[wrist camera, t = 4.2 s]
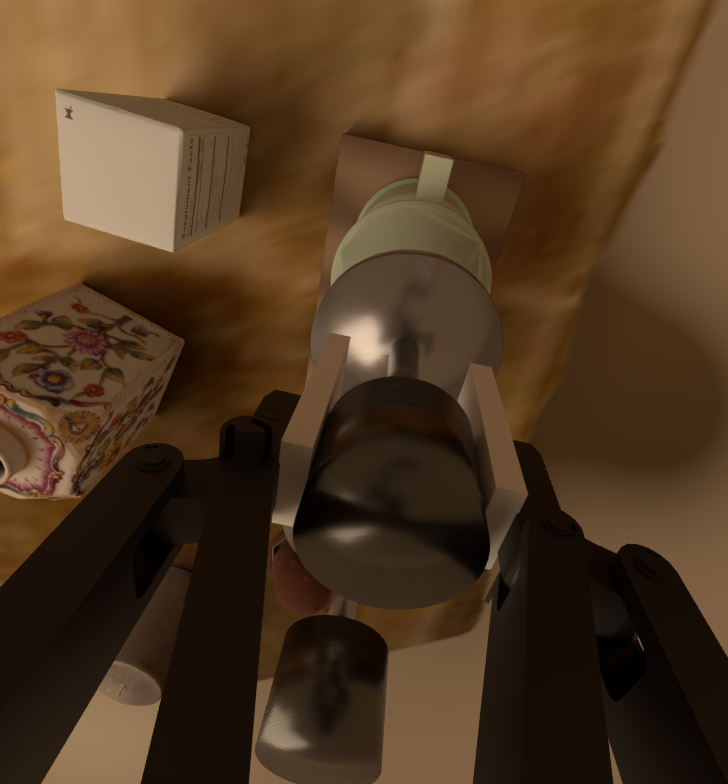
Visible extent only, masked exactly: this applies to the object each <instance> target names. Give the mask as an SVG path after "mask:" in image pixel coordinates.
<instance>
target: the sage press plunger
mask: <svg viewBox="0 0 728 784" xmlns="http://www.w3.org/2000/svg"><path fill="white" fill-rule="evenodd" d="M330 332H331V333H335V334H340V335H345V336H349V337H351V338H350V343H349V349H348V354H347V360H346V365H345V370H344V376H343V381H342V387H341V392H340V398H339V400H338V401H337V402H336V403H335V405H334V406H333V408H332V409H331V411H330V413H329V416H328V419H327V422H326V425H325V428H324V431H323V434H322V437H321V440H320V443H319V446H318V450H317V453H316V456H315V459H314V462H313V465H312V468H311V471H310V474H309V477H308V480H307V483H306V486H305V489H304V492H303V495H302V498H301V501H300V504H299V507H298V510H297V513H296V516H295V520H294V524H293V542H294V546H295V550H296V553H297V555H298V557H299V559H300V561H301V562H302V564H303V565H304V567H305V568H306V569H307V571H308V572H309V573H310V574H311V575H312V576H313V577H314V578H315V579H316V580H317V581H318V582H320V583H321V584H322V585H324V586H325V587H326V588H328V589H329V590H331V591H333V592H335V593H336V594H338V595H340V596H342V597H345V598H347V599H349V600H352V601H355V602H357V603H361V604H364V605H368V606H373V607H379V608H386V609H416V608H422V607H428V606H432V605H436V604H439V603H442V602H445V601H447V600H450V599H452V598H454V597H456V596H458V595H459V594H461V593H462V592H464V591H465V590H467V589H468V588H469V587H470V586H471V585H473V584H474V583H475V582H476V580H477V579H478V578H479V577H480V576H481V574H482V572H483V571H484V569H485V567H486V565H487V562H488V560H489V554H490V537H489V531H488V525H487V519H486V513H485V506H484V500H483V494H482V488H481V482H480V476H479V470H478V464H477V458H476V452H475V446H474V440H473V433H472V428H471V424H470V421H469V419H468V417H467V415H466V413H465V411H464V409H463V408H462V407H461V406H460V404H459V403H458V402H457V401H458V398H459V395H460V393H461V390H462V387H463V384H464V381H465V378H466V375H467V372H468V369H469V366H470V363H474V364H479V365H484V366H488V367H492V371H493V374H494V378H495V377H496V374H497V372H498V369H499V366H500V363H501V359H502V352H503V333H502V326H501V322H500V319H499V315H498V312H497V310H496V308H495V305H494V303H493V301H492V299H491V297H490V295H489V293H488V292H487V290H486V289H485V287H484V286H483V285H482V283H481V282H480V281H479V280H478V279H477V278H476V277H475V276H474V275H473V274H472V273H471V272H469V271H468V270H467V269H466V268H465V267H463V266H461V265H460V264H458V263H457V262H455V261H453V260H451V259H449V258H447V257H444V256H442V255H439V254H435V253H432V252H428V251H422V250H410V249H401V250H392V251H387V252H383V253H379V254H375V255H373V256H370V257H368V258H365V259H363V260H362V261H360V262H358V263H356V264H354V265H353V266H351V267H350V268H349V269H348V270H346V271H345V272H344V273H343V274H342V275H341V276H340V277H339V278H338V279H337V280H336V281H335V282H334V283H333V284H332V286H331V287H330V288H329V290H328V291H327V293H326V294H325V296H324V298H323V300H322V302H321V303H320V305H319V307H318V309H317V312H316V315H315V317H314V321H313V325H312V330H311V354H312V358H313V363H314V366H315V364H316V362H317V360H318V358H319V355H320V353H321V351H322V349H323V347H324V344H325V342H326V340H327V338H328V335H329V333H330Z"/></svg>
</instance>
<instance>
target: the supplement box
mask: <svg viewBox="0 0 728 784" xmlns="http://www.w3.org/2000/svg"><path fill="white" fill-rule="evenodd" d="M55 95H56V109H57V126H58V141H59V156H60V171H61V186H62V202H63V213H64V218H65V220H67V221H70V222H74V223H77V224H80V225H83V226H87V227H90V228H93V229H96V230H100V231H103V232H106V233H109V234H113V235H116V236H119V237H123V238H126V239H129V240H132V241H136V242H139V243H142V244H146V245H149V246H153V247H156V248H159V249H163V250H166V251H169V252H175V251H177V250H179V249H181V248H183V247H185V246H186V245H188V244H190V243H192V242H194V241H196V240H198V239H200V238H202V237H204V236H206V235H208V234H210V233H212V232H214V231H216V230H217V229H219V228H222V227H223V226H225V225H227V224H229V223H231V222H233V221H235V220H237V219H238V218H239V214H240V206H241V198H242V191H243V182H244V175H245V168H246V160H247V152H248V143H249V136H250V127H249V126H247V125H244V124H242V123H239V122H236V121H233V120H230V119H227V118H224V117H221V116H218V115H215V114H212V113H209V112H206V111H203V110H199V109H196V108H193V107H190V106H186V105H183V104H180V103H177V102H173V101H170V100H167V99H160V98H150V97H138V96H129V95H118V94H107V93H97V92H87V91H76V90H65V89H56V90H55Z"/></svg>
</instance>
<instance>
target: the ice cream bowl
mask: <svg viewBox="0 0 728 784" xmlns="http://www.w3.org/2000/svg"><path fill="white" fill-rule="evenodd" d="M268 569H269V570H270V571H271V572H272V576H273V580H274V582H275V594H276V597H277V599H278V601H279V603H280V604H281V606H282V607H283V609H284V610H285V611H288V612H290V613H291V614H295V615H298V616H307V615H313V614H315V613H316V612H318V611H319V610H320V611H322V612H327V611H329V608H330V603H331V597H332V592H333V591H331V590H329V589H328V588H326V587H325V586H324V585H322V584H321V583H320V582H318V581H317V580H316V579H315V578H314V577H313V576H312V575H311V574H310V573H309V572H308V571H307V569H306V568H305V567H304V565H303V564H302V562H301V561H300V559H299V557H298V555H297V553H296V552H295V551H294V550H293V548H292V547H291V545H290V544H289V542H288V540H287V538H286V536H285V532H284V529H283V530H282V531H280V532H279V533H278V534H277V535H276V536H275V537H274V538H273V540H272V541H271V543H270V545H269V546H268Z"/></svg>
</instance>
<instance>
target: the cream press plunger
mask: <svg viewBox="0 0 728 784" xmlns="http://www.w3.org/2000/svg"><path fill="white" fill-rule="evenodd" d="M283 529H284V532H285V536H286V538H287V540H288V542H289V544H290V545H291V547H292V548H293V550H294V551H295V552H296V550H295V546H294V542H293V527H291V526H287V525H283ZM356 606H357V602H355V601H352V600H349V599H347V598H345V597H342V596H340V595H338V594H336V593H335V592H332V597H331V603H330V608H329V613H328V615H317V616H311V617H307V618H304V619H301V620H299V621H297V622H296V623H294V624H293V625H292V626H291V627H290V628H289V629H288V631H287V632H286V635H285V639H284V643H283V646H282V650H281V654H280V657H279V661H278V665H277V669H276V672H275V676H274V680H273V684H272V687H271V691H270V695H269V698H268V702H267V706H266V710H265V713H264V717H263V721H262V724H261V728H260V732H259V735H258V739H257V743H256V747H255V753H256V756H257V758H258V760H259V761H260V762H261V764H262V765H263V766H264V767H265V768H267V769H268V770H269V771H271V772H272V773H274V774H275V775H277V776H279V777H281V778H283V779H286V780H288V781H290V782H293V783H296V784H372V783H373V782H375V781H376V780H377V779H378V778H379V776H380V774H381V766H382V750H383V733H384V719H385V718H384V717H385V703H386V702H385V701H386V688H387V672H388V671H387V670H388V656H389V651H388V646H387V644H386V642H385V640H384V639H383V638H382V636H381V635H380V634H379V633H377V632H376V631H375V630H374V629H372V628H371V627H369V626H367V625H366V624H364V623H361V622H359V621H356V620H355V613H356Z"/></svg>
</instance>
